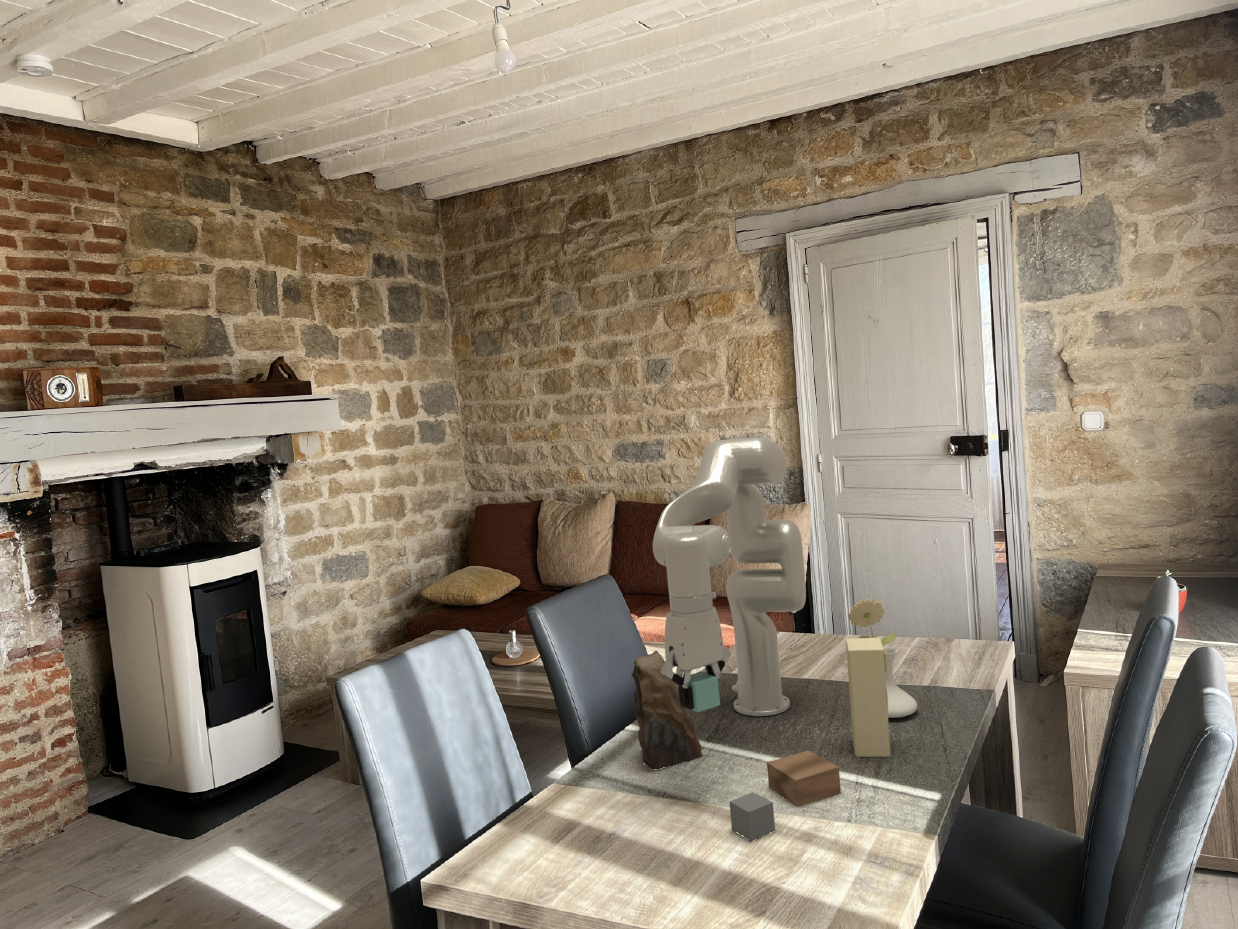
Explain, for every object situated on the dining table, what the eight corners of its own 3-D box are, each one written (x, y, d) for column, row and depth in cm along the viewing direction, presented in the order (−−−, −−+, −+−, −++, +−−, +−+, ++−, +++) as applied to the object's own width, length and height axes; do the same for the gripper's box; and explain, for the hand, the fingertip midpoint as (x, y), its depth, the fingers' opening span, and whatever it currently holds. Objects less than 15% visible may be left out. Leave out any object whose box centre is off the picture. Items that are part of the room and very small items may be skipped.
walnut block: (769, 789, 158) (766, 762, 158) (810, 776, 162) (808, 750, 161) (798, 808, 150) (795, 780, 150) (841, 795, 154) (838, 767, 153)
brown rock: (649, 774, 169) (639, 672, 168) (620, 753, 180) (611, 658, 179) (705, 757, 174) (696, 659, 173) (674, 738, 186) (665, 645, 184)
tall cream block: (895, 757, 166) (887, 648, 164) (855, 757, 167) (847, 650, 166) (891, 740, 174) (883, 637, 172) (852, 741, 175) (844, 638, 174)
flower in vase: (918, 704, 191) (910, 591, 190) (918, 724, 181) (909, 605, 179) (856, 703, 196) (848, 593, 194) (853, 722, 185) (844, 605, 183)
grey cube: (731, 831, 144) (729, 801, 144) (755, 821, 147) (752, 792, 146) (751, 842, 140) (748, 812, 140) (775, 832, 142) (772, 802, 142)
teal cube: (681, 705, 157) (678, 678, 157) (703, 698, 159) (700, 671, 159) (697, 712, 153) (694, 684, 152) (720, 705, 155) (717, 677, 155)
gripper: (716, 591, 162) (725, 686, 164) (639, 609, 154) (649, 710, 155) (742, 596, 156) (750, 696, 157) (663, 616, 147) (673, 722, 148)
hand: (700, 702), depth 156 cm, fingers closed on teal cube, 5 cm apart
